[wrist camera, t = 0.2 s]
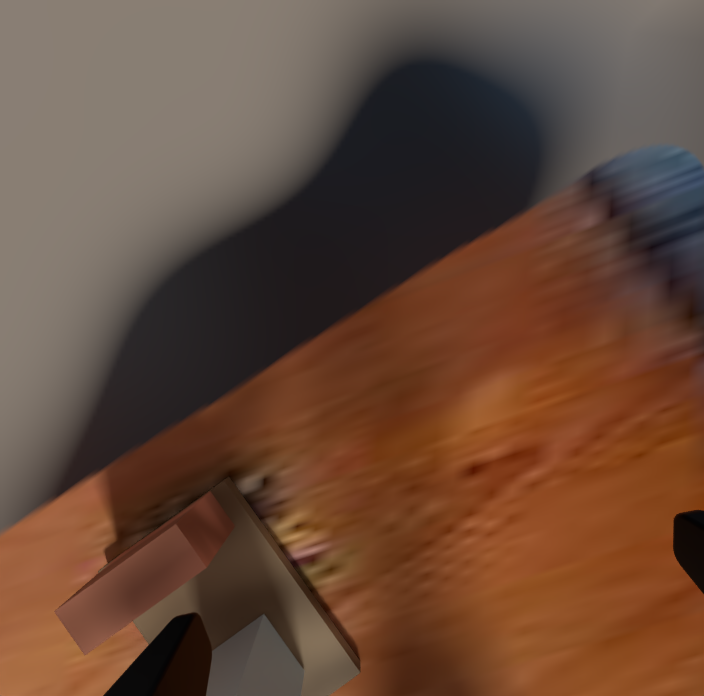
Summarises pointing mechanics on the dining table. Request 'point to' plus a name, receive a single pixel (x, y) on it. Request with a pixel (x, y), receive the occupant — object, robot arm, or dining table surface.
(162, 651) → the robot arm
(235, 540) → the tan base plate
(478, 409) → the dining table surface
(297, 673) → the grey t-shaped piece
